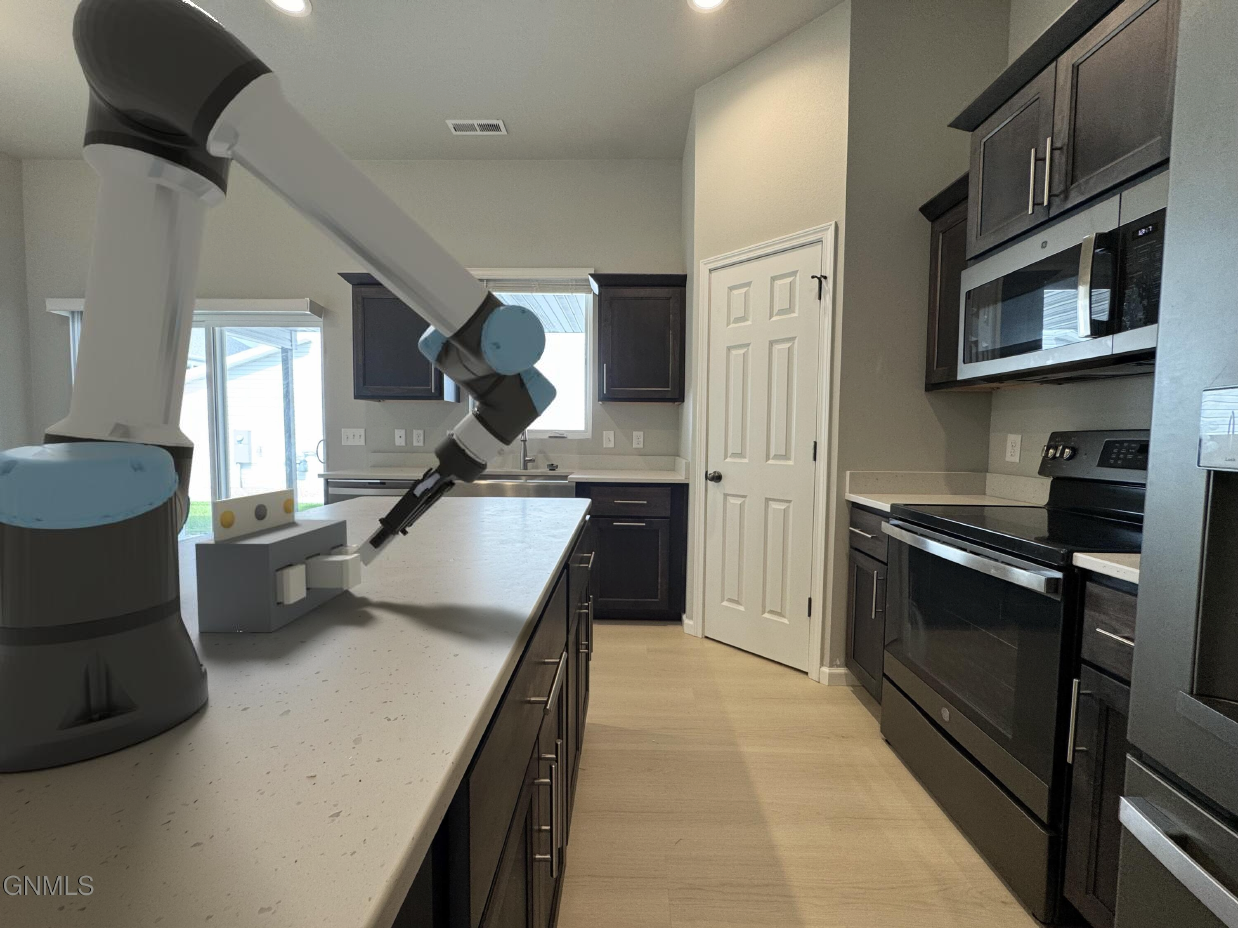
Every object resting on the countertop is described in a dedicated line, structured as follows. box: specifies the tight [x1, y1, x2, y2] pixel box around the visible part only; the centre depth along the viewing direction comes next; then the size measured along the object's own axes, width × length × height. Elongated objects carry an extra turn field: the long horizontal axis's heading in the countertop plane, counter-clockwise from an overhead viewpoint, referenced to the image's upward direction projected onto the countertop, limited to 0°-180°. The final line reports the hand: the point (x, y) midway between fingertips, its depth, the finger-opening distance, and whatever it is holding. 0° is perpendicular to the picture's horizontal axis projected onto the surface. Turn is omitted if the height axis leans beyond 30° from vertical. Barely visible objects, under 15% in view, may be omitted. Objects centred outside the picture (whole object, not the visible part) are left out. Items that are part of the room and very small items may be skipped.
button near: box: [276, 564, 306, 604], centre depth 71 cm, size 3×8×4 cm, turn 89°
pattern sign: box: [212, 488, 296, 541], centre depth 77 cm, size 16×1×5 cm, turn 179°
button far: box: [331, 544, 360, 556], centre depth 84 cm, size 3×8×4 cm, turn 89°
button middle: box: [306, 554, 362, 591], centre depth 78 cm, size 3×8×4 cm, turn 89°
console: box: [194, 519, 348, 633], centre depth 78 cm, size 19×9×11 cm, turn 179°
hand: (362, 558), depth 84 cm, fingers closed
